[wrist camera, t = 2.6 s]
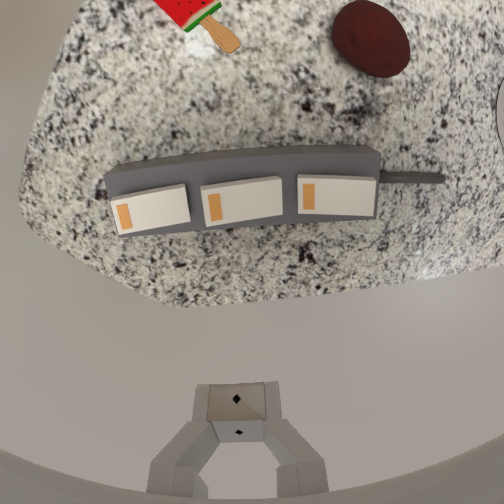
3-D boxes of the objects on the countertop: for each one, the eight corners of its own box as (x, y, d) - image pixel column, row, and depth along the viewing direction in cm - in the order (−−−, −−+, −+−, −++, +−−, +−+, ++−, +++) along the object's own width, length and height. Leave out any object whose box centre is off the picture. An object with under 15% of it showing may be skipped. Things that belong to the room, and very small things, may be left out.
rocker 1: (184, 183, 28) (185, 187, 27) (190, 216, 29) (190, 222, 28) (112, 197, 27) (109, 202, 26) (120, 229, 28) (118, 235, 27)
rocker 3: (373, 177, 26) (376, 181, 25) (371, 211, 28) (373, 217, 27) (298, 174, 28) (297, 178, 26) (298, 208, 29) (297, 214, 28)
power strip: (444, 149, 30) (468, 160, 26) (437, 202, 34) (458, 219, 29) (117, 164, 31) (99, 178, 27) (130, 221, 34) (115, 242, 30)
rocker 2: (277, 175, 28) (282, 179, 26) (278, 209, 29) (283, 215, 28) (200, 186, 26) (201, 191, 25) (205, 221, 28) (206, 227, 27)
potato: (335, 82, 27) (354, 82, 22) (316, 9, 23) (331, -6, 18) (398, 75, 26) (426, 76, 21) (381, 6, 22) (406, -6, 17)
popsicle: (216, 63, 25) (123, -23, 19) (218, 64, 26) (128, -19, 21) (253, 34, 24) (157, -51, 18) (253, 37, 25) (160, -46, 19)
